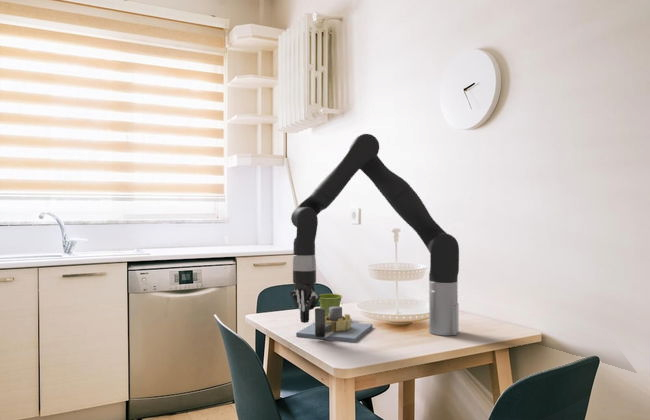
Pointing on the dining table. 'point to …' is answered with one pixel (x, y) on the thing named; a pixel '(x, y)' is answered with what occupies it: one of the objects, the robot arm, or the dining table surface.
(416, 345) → the dining table surface
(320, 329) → the ring with upright handle
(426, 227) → the robot arm
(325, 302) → the plant pot
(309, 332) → the hub board
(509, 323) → the dining table surface
